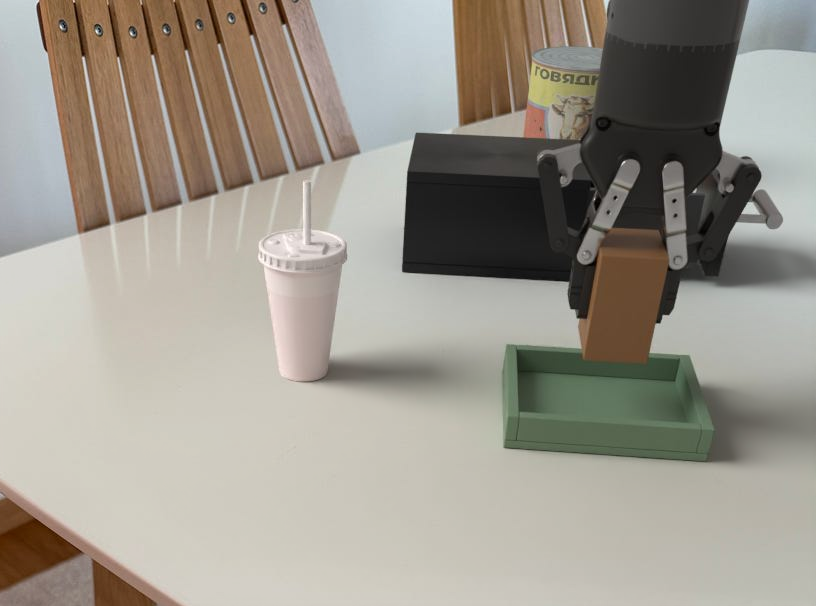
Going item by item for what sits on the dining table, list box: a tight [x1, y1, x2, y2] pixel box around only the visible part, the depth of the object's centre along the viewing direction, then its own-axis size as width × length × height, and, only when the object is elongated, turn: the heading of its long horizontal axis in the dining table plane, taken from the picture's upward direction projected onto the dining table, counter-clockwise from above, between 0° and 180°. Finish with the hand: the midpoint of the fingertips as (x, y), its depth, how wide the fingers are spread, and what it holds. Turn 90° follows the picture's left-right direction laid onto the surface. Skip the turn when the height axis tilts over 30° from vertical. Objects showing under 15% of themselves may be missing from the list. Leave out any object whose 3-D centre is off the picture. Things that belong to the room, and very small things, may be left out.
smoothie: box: [257, 179, 348, 382], centre depth 76 cm, size 6×6×14 cm
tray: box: [502, 343, 715, 462], centre depth 74 cm, size 14×12×2 cm
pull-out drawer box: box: [585, 169, 784, 278], centre depth 96 cm, size 20×12×7 cm, turn 83°
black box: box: [401, 132, 591, 282], centre depth 97 cm, size 16×13×9 cm
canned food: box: [523, 45, 603, 140], centre depth 116 cm, size 11×11×12 cm
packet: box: [577, 228, 669, 364], centre depth 70 cm, size 4×6×7 cm
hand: (617, 315), depth 70 cm, fingers closed on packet, 4 cm apart
